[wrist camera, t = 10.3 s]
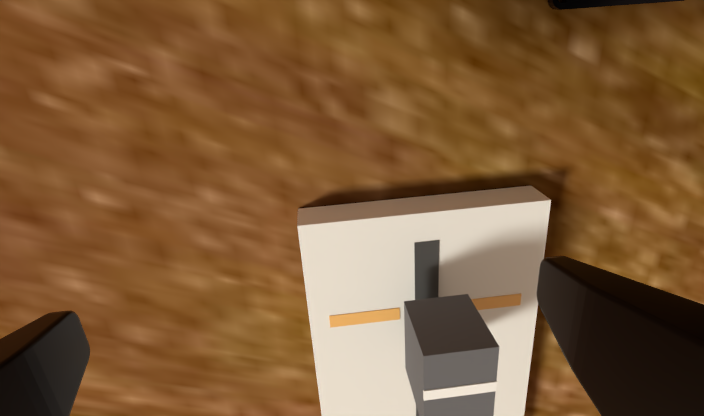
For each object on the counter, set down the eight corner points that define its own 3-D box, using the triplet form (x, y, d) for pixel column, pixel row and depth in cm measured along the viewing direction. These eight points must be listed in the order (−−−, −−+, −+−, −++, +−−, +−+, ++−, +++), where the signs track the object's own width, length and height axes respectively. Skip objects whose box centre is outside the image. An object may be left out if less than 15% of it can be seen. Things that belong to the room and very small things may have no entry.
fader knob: (458, 278, 21) (500, 347, 17) (456, 343, 23) (493, 422, 18) (398, 285, 21) (423, 357, 17) (400, 350, 23) (423, 431, 18)
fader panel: (531, 185, 22) (551, 200, 21) (501, 463, 31) (514, 492, 29) (297, 208, 22) (297, 226, 20) (332, 487, 30) (334, 518, 28)
